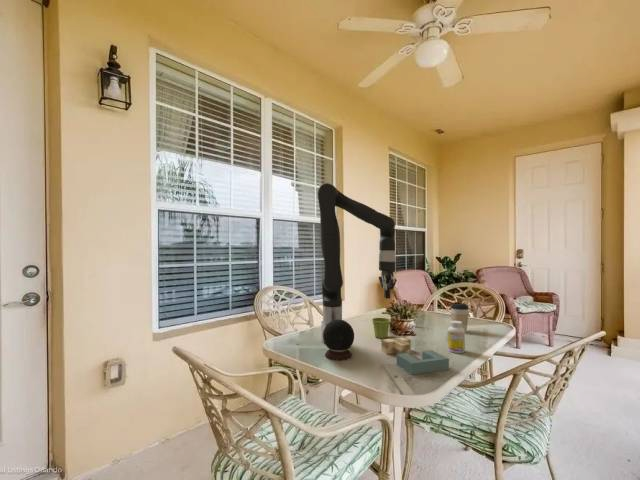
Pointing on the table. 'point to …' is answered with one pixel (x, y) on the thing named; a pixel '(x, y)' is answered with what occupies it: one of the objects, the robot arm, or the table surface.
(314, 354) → the table surface
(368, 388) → the table surface
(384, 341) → the t block
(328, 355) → the black ball on stand
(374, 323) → the plant pot
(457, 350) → the supplement bottle
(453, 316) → the coffee cup
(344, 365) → the table surface
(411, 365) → the dock
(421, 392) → the table surface
